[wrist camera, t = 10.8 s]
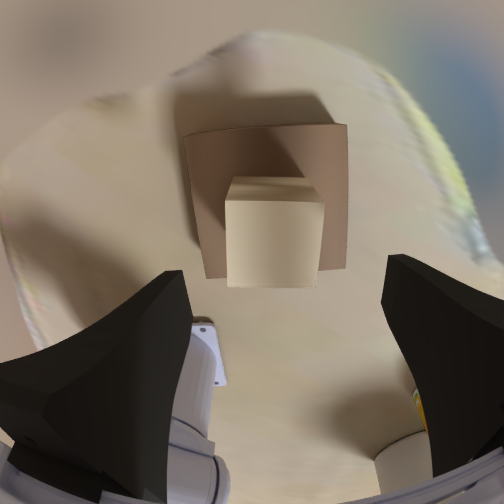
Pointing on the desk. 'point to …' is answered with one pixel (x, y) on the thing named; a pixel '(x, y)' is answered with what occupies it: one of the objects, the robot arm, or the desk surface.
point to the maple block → (273, 232)
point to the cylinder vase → (405, 464)
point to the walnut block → (270, 165)
